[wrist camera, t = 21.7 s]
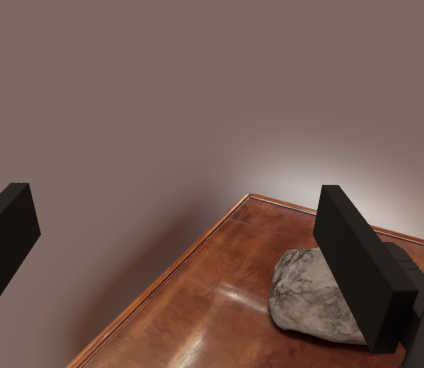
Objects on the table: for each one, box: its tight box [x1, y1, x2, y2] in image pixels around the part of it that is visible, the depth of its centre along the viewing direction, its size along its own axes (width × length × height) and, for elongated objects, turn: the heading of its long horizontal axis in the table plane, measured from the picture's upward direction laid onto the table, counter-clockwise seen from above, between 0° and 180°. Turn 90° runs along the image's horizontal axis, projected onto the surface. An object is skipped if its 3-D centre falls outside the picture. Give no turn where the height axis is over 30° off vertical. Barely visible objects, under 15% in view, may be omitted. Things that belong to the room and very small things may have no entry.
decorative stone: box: [268, 248, 367, 345], centre depth 50 cm, size 20×13×10 cm
